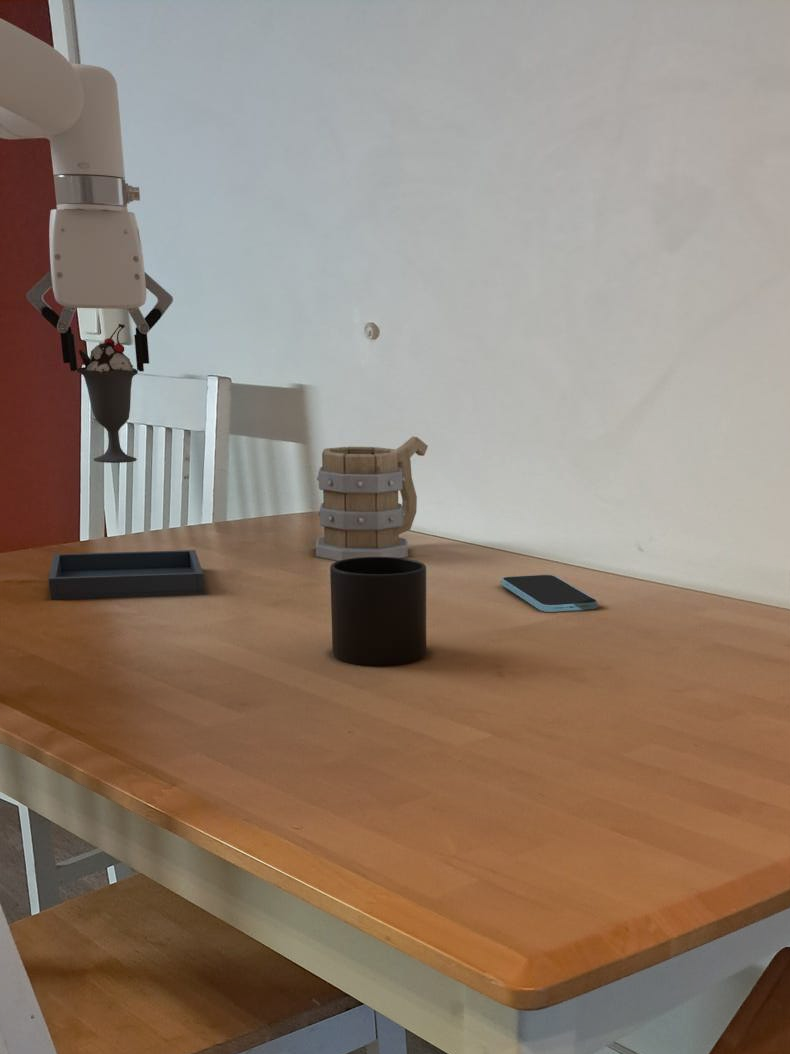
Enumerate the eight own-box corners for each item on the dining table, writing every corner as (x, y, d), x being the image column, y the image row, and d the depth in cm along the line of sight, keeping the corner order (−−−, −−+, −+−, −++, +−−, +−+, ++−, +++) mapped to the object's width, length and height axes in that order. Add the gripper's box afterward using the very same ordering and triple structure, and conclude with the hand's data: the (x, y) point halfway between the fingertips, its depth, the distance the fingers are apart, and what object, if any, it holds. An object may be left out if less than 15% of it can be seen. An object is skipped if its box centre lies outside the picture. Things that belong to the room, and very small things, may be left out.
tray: (51, 601, 148) (48, 578, 147) (55, 574, 162) (53, 554, 161) (204, 595, 152) (203, 573, 151) (196, 570, 166) (195, 549, 165)
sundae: (155, 461, 151) (146, 324, 145) (105, 465, 146) (93, 324, 141) (125, 456, 155) (114, 322, 149) (75, 459, 151) (62, 322, 145)
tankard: (361, 567, 170) (359, 450, 164) (297, 554, 177) (293, 441, 171) (460, 548, 184) (461, 439, 178) (397, 537, 191) (396, 432, 185)
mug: (408, 636, 136) (408, 550, 132) (436, 665, 125) (436, 572, 122) (321, 640, 134) (318, 553, 130) (341, 670, 123) (339, 576, 119)
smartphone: (543, 605, 146) (498, 577, 159) (543, 615, 147) (498, 585, 159) (600, 602, 148) (552, 574, 161) (600, 611, 149) (551, 582, 162)
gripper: (170, 202, 145) (182, 369, 152) (10, 196, 141) (30, 368, 148) (173, 198, 138) (186, 372, 146) (5, 191, 134) (26, 372, 141)
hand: (107, 369), depth 147 cm, fingers closed on sundae, 6 cm apart
